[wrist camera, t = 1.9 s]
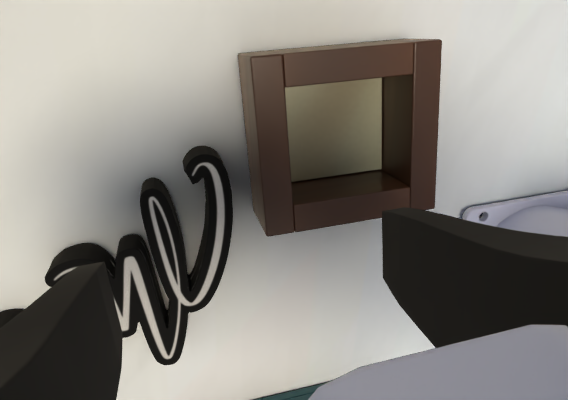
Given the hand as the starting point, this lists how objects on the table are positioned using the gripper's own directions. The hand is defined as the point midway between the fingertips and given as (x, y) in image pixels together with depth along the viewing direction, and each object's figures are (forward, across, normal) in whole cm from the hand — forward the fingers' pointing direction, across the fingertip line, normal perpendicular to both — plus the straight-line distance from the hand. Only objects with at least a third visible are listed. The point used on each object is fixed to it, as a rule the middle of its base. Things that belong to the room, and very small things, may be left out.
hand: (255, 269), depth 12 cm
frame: (+9, -5, -1) cm, 11 cm away
